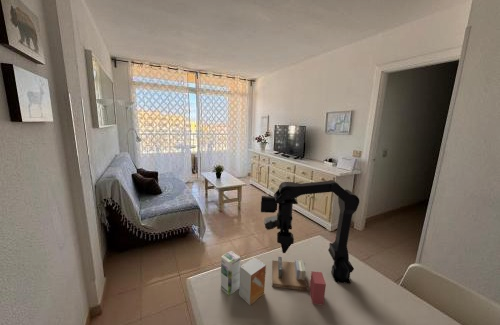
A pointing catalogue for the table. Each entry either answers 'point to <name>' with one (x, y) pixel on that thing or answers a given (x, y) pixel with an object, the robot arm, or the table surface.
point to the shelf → (287, 276)
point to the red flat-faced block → (317, 288)
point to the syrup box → (230, 272)
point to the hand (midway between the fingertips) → (283, 246)
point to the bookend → (280, 267)
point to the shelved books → (299, 269)
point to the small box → (252, 280)
